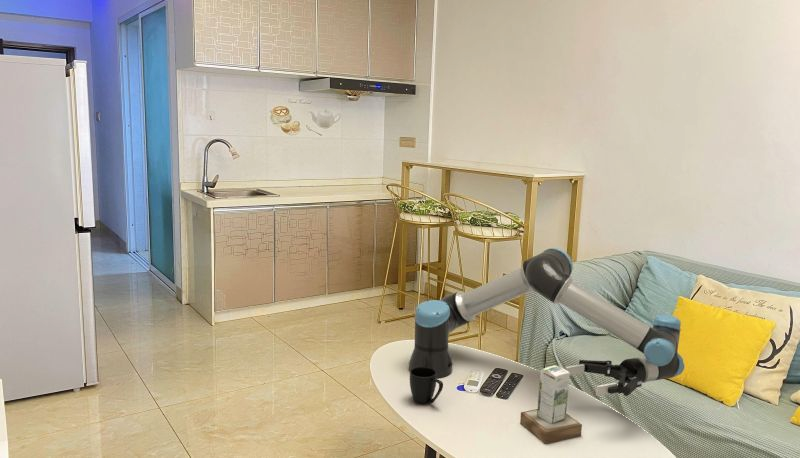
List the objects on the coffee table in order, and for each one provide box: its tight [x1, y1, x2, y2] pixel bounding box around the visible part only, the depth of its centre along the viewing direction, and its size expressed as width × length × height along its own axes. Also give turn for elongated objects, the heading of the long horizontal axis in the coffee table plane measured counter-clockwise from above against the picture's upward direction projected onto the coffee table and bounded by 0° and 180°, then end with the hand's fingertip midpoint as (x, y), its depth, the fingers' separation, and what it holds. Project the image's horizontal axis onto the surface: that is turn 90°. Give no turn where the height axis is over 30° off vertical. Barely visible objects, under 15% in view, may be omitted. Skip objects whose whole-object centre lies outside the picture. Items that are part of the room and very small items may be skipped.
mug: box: [409, 367, 444, 406], centre depth 185 cm, size 8×12×10 cm
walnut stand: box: [519, 408, 583, 445], centre depth 171 cm, size 12×12×4 cm
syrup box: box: [537, 364, 571, 424], centre depth 169 cm, size 6×6×14 cm
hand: (580, 381), depth 173 cm, fingers open, 13 cm apart
